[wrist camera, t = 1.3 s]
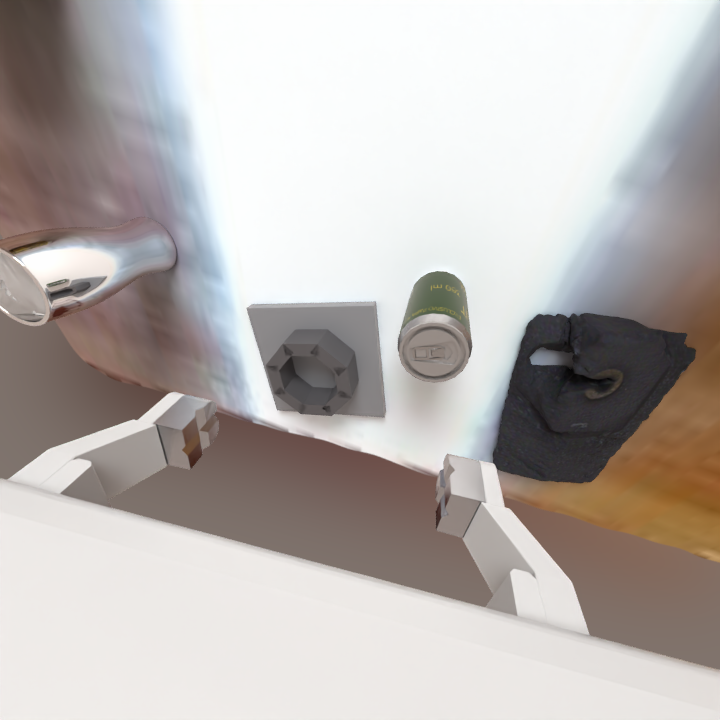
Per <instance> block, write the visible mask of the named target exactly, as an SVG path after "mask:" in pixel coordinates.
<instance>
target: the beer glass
mask: <svg viewBox="0 0 720 720" xmlns="http://www.w3.org/2000/svg"><path fill="white" fill-rule="evenodd" d="M176 258H177V252H176V247H175V244H174V241H173V239H172V237H171V236H170V234H169V233H168V231H167V230H166V229H165V228H164V227H163V226H162V225H161V224H160V223H158V222H157V221H155V220H153V219H151V218H148V217H137V218H134V219H132V220H130V221H128V222H126V223H124V224H121V225H118V226H114V227H69V228H52V229H45V230H39V231H33V232H29V233H24V234H19V235H15V236H12V237H8V238H4V239H1V240H0V310H1V311H2V312H4V313H5V314H6V315H8V316H9V317H11V318H13V319H14V320H16V321H18V322H21V323H23V324H26V325H31V326H39V325H43V324H44V323H47V322H50V321H53V320H56V319H60V318H63V317H66V316H69V315H72V314H75V313H78V312H80V311H83V310H85V309H88V308H90V307H92V306H95V305H97V304H99V303H101V302H103V301H105V300H106V299H108V298H110V297H111V296H113V295H115V294H116V293H118V292H119V291H120V290H122V289H123V288H125V287H126V286H128V285H129V284H131V283H132V282H133V281H135V280H137V279H138V278H140V277H142V276H145V275H148V274H152V273H159V272H165V271H168V270H170V269H171V268H172V267H173V266H174V264H175V262H176Z"/></svg>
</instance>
